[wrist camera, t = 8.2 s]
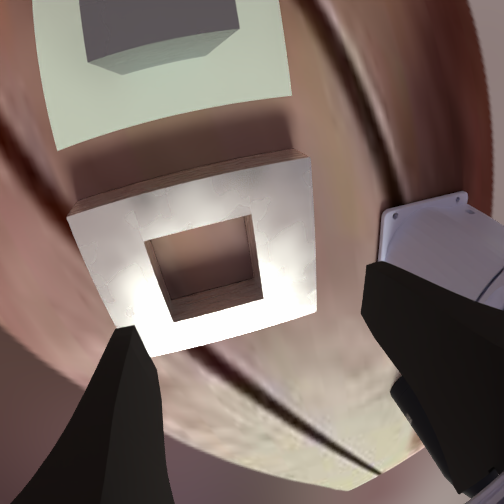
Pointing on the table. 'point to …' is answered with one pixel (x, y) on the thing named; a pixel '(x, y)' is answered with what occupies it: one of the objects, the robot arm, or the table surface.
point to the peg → (153, 31)
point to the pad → (153, 73)
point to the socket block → (196, 215)
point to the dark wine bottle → (429, 432)
